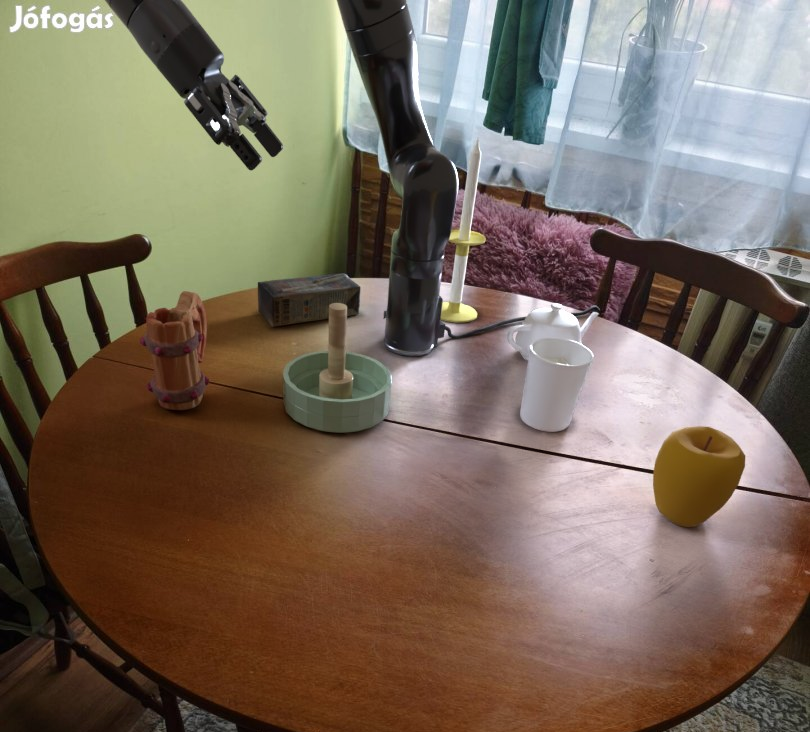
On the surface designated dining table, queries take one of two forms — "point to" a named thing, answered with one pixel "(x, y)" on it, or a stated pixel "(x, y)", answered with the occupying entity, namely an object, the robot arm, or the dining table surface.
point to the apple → (696, 474)
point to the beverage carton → (306, 298)
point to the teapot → (547, 328)
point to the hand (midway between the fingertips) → (268, 159)
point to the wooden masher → (336, 357)
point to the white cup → (554, 382)
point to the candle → (464, 246)
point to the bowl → (337, 413)
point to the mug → (177, 352)
